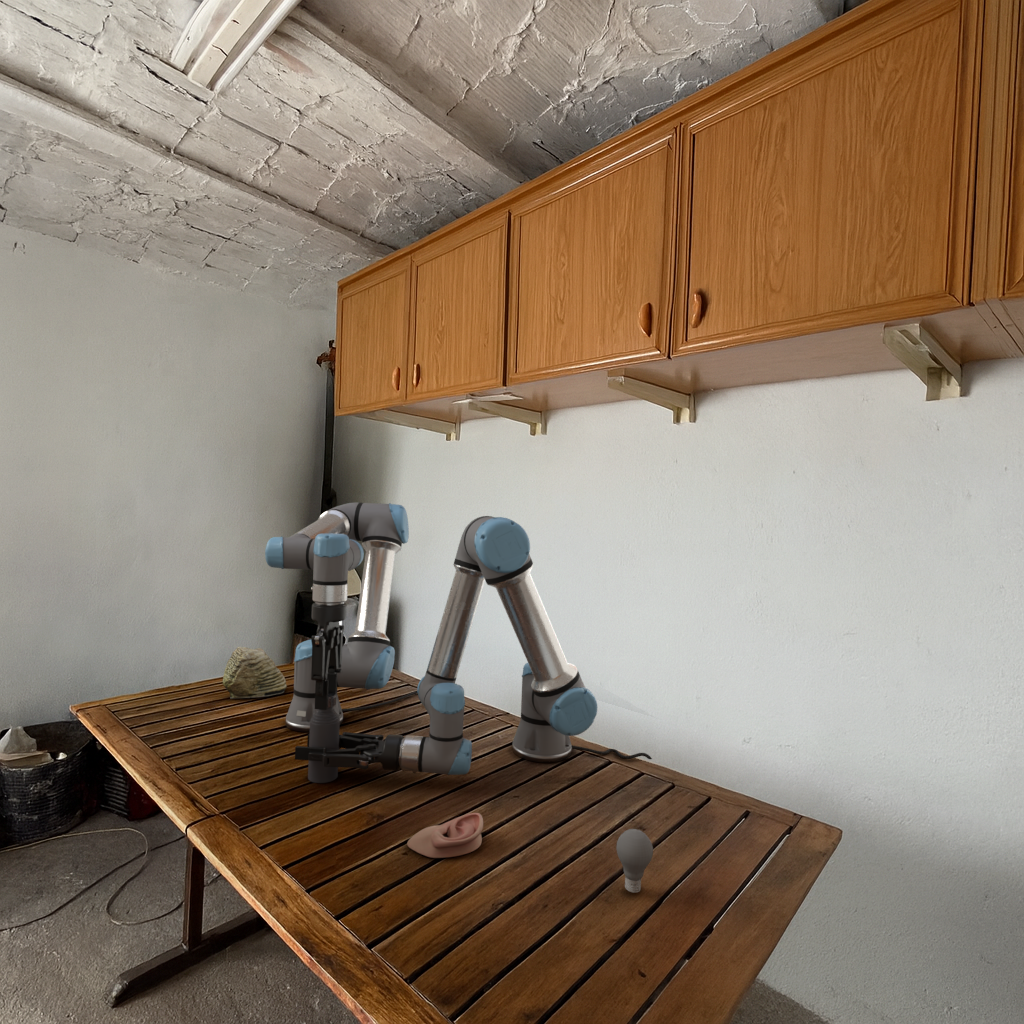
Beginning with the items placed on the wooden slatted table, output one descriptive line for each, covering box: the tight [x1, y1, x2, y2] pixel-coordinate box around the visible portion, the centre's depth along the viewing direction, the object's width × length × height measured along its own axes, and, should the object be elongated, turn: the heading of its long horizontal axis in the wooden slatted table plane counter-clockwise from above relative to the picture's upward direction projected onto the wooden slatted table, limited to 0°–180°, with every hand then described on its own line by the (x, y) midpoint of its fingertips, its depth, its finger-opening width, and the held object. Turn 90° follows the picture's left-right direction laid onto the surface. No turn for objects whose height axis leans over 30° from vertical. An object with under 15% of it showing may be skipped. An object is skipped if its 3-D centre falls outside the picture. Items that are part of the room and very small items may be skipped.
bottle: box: [307, 707, 341, 784], centre depth 143 cm, size 6×6×18 cm
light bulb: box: [615, 828, 654, 894], centre depth 106 cm, size 6×6×10 cm
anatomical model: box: [406, 812, 484, 859], centre depth 118 cm, size 13×4×12 cm
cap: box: [328, 691, 336, 708], centre depth 143 cm, size 4×4×2 cm
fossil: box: [222, 646, 288, 699], centre depth 198 cm, size 9×18×15 cm, turn 132°
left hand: (325, 705), depth 143 cm, fingers closed on cap, 4 cm apart
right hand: (302, 746), depth 143 cm, fingers closed on bottle, 6 cm apart
